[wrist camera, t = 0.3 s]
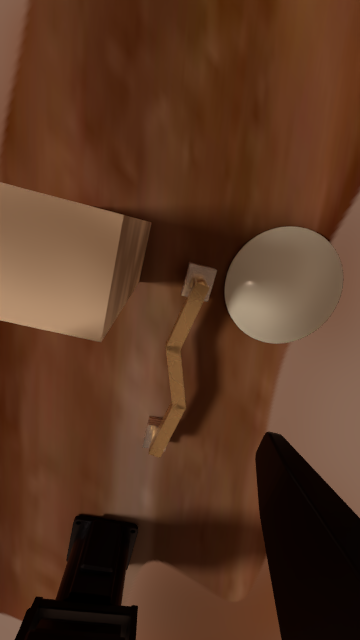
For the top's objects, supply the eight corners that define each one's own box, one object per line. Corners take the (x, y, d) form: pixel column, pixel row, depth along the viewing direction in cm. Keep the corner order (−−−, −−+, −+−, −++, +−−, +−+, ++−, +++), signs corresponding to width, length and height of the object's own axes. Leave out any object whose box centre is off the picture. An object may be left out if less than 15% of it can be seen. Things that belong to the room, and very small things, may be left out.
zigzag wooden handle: (168, 442, 26) (168, 468, 23) (140, 436, 26) (136, 462, 23) (219, 268, 21) (226, 275, 18) (184, 260, 21) (186, 265, 18)
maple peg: (139, 281, 22) (101, 342, 10) (81, 267, 21) (-27, 314, 10) (151, 222, 20) (123, 215, 9) (90, 206, 20) (-23, 176, 8)
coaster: (313, 351, 24) (316, 354, 23) (210, 328, 23) (210, 329, 22) (359, 243, 21) (363, 244, 21) (245, 212, 20) (246, 211, 20)
